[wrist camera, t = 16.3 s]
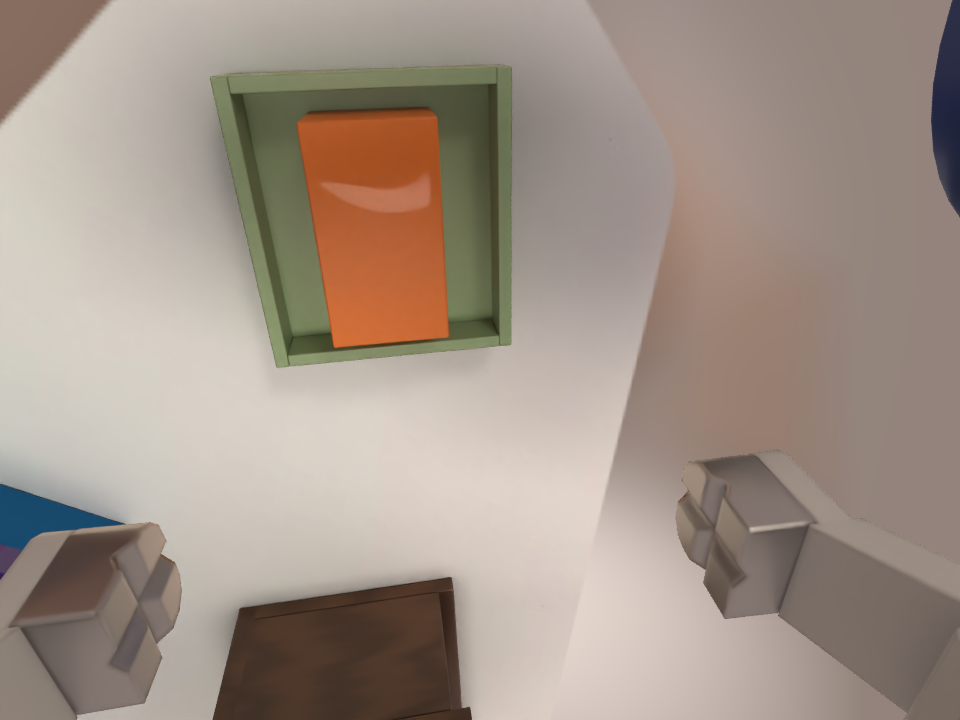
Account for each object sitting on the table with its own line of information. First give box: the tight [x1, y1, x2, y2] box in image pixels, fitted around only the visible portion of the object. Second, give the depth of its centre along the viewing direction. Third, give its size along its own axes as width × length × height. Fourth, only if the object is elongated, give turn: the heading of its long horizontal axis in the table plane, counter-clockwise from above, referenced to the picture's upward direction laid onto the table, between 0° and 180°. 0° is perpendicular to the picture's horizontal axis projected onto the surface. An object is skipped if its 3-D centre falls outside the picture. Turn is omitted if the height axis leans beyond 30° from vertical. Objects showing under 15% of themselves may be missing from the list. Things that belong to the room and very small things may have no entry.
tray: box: [210, 65, 512, 368], centre depth 25 cm, size 11×12×3 cm
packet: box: [297, 107, 449, 348], centre depth 24 cm, size 5×9×4 cm, turn 1°
